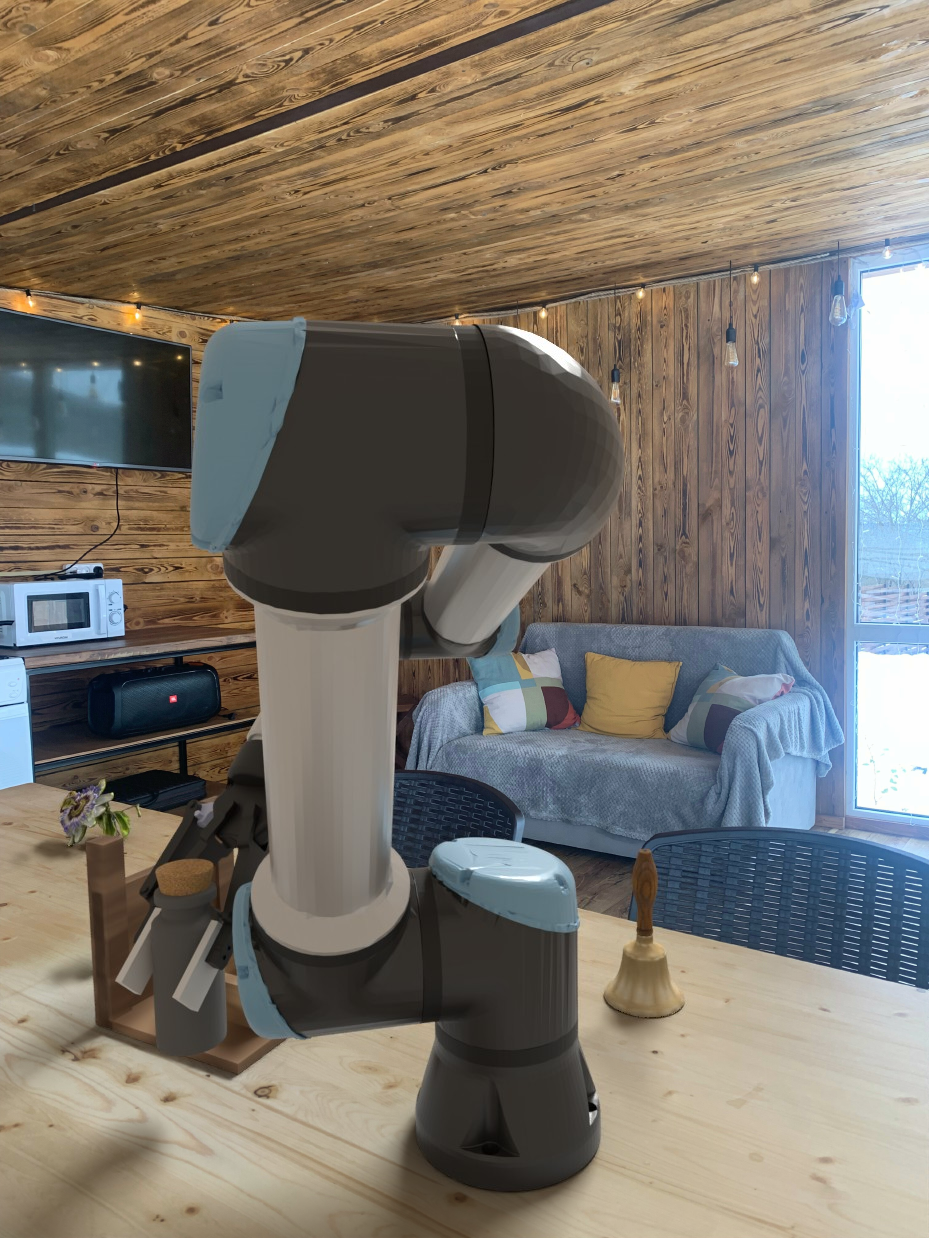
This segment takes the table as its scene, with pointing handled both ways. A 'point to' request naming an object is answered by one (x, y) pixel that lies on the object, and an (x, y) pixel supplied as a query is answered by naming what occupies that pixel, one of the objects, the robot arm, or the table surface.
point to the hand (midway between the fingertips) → (156, 995)
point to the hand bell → (644, 956)
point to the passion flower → (92, 814)
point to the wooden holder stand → (133, 1014)
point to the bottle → (184, 958)
